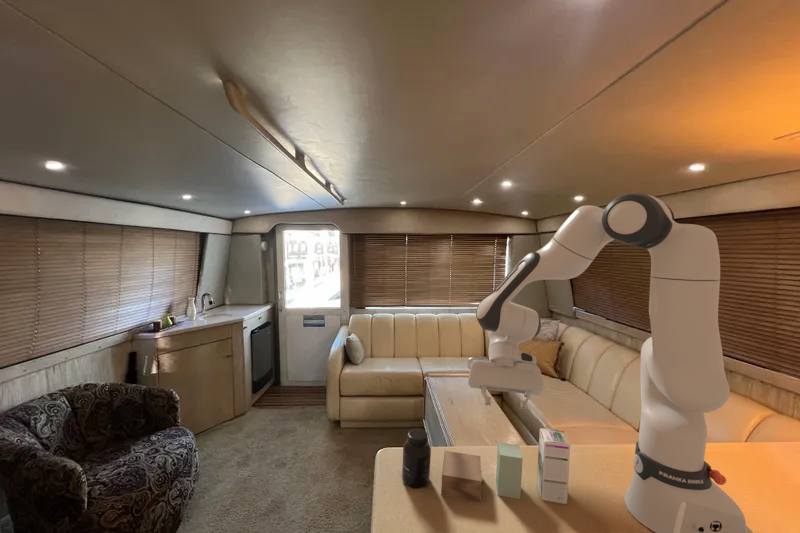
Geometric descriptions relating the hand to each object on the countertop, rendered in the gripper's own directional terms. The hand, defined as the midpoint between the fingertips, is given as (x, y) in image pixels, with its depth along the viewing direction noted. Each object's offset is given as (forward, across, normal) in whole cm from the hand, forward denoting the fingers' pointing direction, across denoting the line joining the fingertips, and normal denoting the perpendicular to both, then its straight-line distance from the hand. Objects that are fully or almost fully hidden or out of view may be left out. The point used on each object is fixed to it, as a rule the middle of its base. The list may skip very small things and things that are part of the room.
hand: (505, 406), depth 90 cm
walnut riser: (+19, -11, +2) cm, 22 cm away
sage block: (+18, 0, +3) cm, 19 cm away
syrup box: (+18, +10, +4) cm, 21 cm away
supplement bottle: (+20, -22, +1) cm, 30 cm away
